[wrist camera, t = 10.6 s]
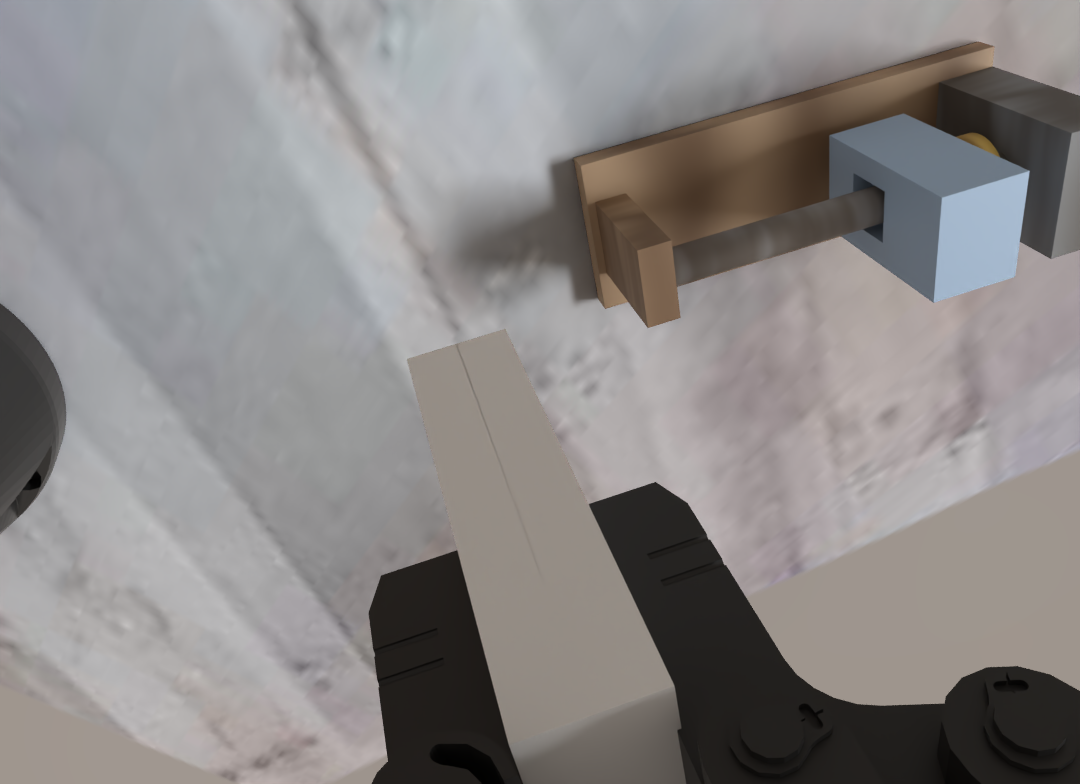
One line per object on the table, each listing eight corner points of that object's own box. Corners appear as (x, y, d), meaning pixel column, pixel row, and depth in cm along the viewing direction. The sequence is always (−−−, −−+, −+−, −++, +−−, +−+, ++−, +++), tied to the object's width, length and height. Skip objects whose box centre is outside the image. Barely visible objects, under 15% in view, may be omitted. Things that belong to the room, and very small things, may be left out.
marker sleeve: (829, 227, 46) (933, 302, 39) (829, 135, 43) (941, 197, 36) (898, 206, 46) (1014, 276, 39) (903, 113, 43) (1029, 170, 36)
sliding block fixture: (598, 298, 47) (668, 399, 39) (573, 158, 43) (647, 238, 35) (964, 186, 50) (1104, 259, 41) (978, 41, 45) (1139, 91, 37)
